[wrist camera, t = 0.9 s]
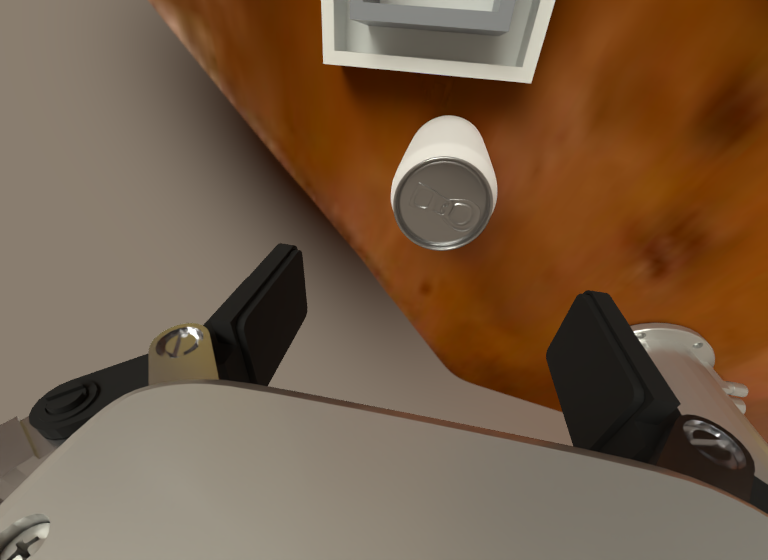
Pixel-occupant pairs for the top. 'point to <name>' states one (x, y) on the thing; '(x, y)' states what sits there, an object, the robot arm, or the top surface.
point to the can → (444, 185)
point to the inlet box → (438, 36)
